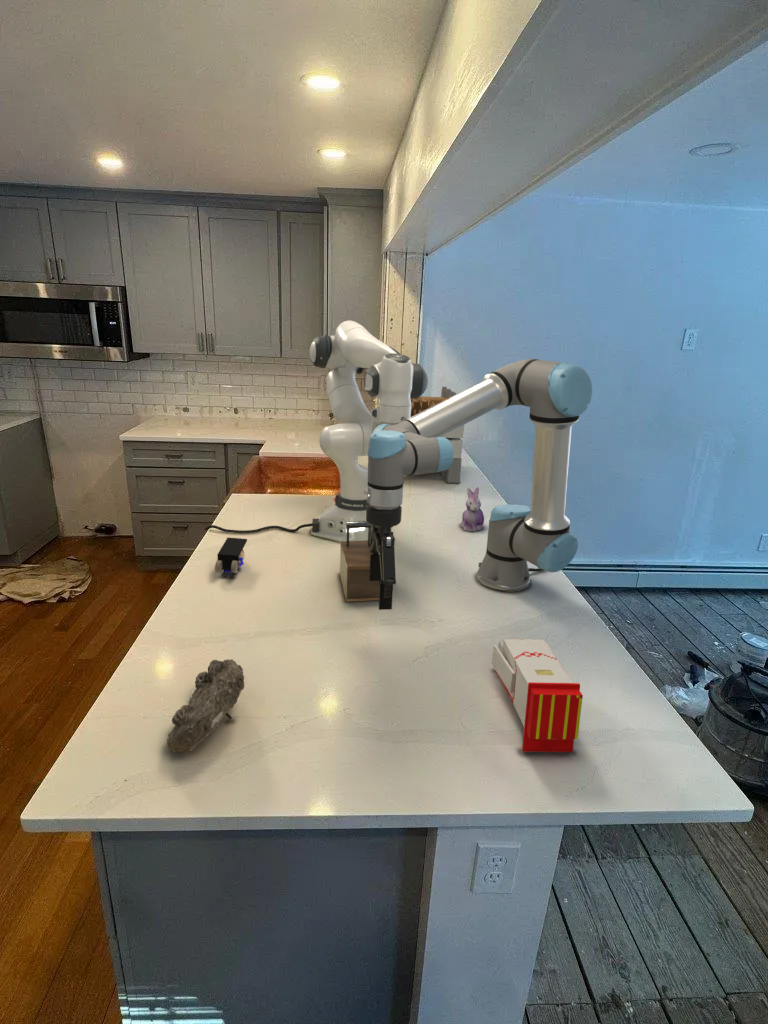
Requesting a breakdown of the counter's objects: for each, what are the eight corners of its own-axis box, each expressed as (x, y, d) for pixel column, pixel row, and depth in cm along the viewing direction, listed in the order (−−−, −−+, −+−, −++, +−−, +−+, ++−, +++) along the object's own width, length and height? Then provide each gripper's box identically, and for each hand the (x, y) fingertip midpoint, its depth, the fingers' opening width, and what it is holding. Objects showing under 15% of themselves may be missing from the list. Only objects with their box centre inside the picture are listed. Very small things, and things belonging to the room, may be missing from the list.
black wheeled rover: (238, 584, 162) (249, 557, 175) (236, 562, 158) (247, 536, 172) (215, 584, 161) (227, 556, 175) (212, 561, 158) (225, 535, 171)
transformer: (382, 463, 289) (386, 382, 275) (445, 464, 293) (451, 384, 279) (390, 482, 257) (394, 392, 243) (460, 483, 261) (468, 394, 247)
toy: (540, 622, 128) (592, 691, 98) (535, 677, 130) (584, 759, 101) (487, 621, 127) (523, 690, 98) (483, 676, 130) (516, 758, 101)
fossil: (192, 660, 117) (244, 628, 112) (224, 691, 120) (276, 661, 115) (142, 746, 98) (202, 712, 93) (182, 779, 101) (242, 748, 96)
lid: (340, 544, 165) (340, 517, 162) (373, 543, 167) (374, 516, 164) (347, 570, 149) (347, 540, 147) (383, 568, 151) (384, 539, 148)
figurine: (470, 533, 202) (474, 493, 197) (453, 524, 211) (457, 485, 206) (491, 530, 207) (495, 491, 202) (474, 520, 215) (478, 483, 210)
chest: (339, 574, 168) (340, 545, 165) (372, 573, 170) (373, 544, 166) (346, 601, 153) (347, 570, 149) (381, 599, 154) (383, 569, 151)
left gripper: (424, 420, 151) (421, 470, 155) (387, 408, 168) (385, 454, 172) (404, 421, 148) (401, 472, 153) (368, 409, 165) (366, 455, 169)
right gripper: (358, 487, 131) (356, 570, 138) (376, 526, 108) (371, 623, 115) (390, 486, 132) (386, 569, 140) (414, 525, 109) (407, 621, 117)
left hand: (392, 462), depth 163 cm, fingers open, 8 cm apart
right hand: (379, 593), depth 127 cm, fingers open, 13 cm apart
